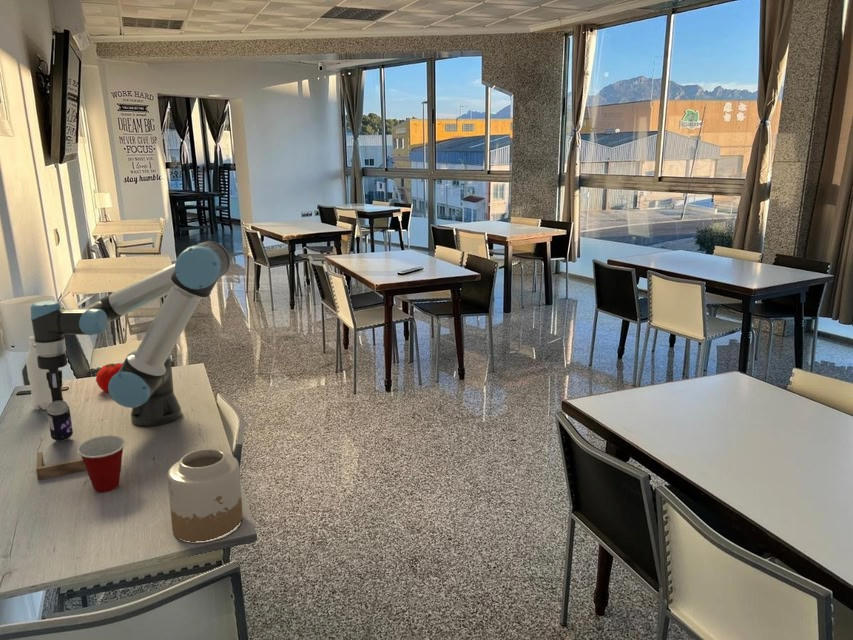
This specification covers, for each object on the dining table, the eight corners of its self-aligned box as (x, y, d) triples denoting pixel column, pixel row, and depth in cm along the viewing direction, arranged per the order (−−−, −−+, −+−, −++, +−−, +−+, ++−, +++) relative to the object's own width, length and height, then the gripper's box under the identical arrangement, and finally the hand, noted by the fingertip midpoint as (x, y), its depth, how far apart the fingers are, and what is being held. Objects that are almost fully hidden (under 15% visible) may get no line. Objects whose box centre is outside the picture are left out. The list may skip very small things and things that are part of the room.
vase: (165, 519, 142) (159, 453, 138) (230, 500, 150) (226, 437, 146) (182, 552, 130) (175, 481, 126) (252, 529, 138) (248, 462, 134)
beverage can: (64, 445, 180) (59, 414, 174) (46, 439, 180) (41, 408, 174) (77, 432, 185) (73, 402, 179) (60, 427, 185) (55, 397, 179)
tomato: (140, 386, 228) (137, 360, 226) (110, 397, 217) (107, 370, 214) (119, 382, 232) (116, 356, 230) (89, 392, 221) (85, 365, 219)
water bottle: (61, 406, 208) (51, 336, 202) (39, 413, 202) (28, 340, 196) (50, 402, 212) (40, 332, 206) (28, 408, 206) (17, 337, 200)
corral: (89, 452, 174) (88, 443, 174) (91, 468, 165) (90, 458, 164) (38, 462, 168) (37, 452, 167) (37, 479, 159) (36, 469, 158)
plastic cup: (82, 502, 149) (76, 457, 146) (83, 482, 158) (77, 440, 155) (131, 492, 154) (126, 448, 151) (129, 473, 163) (124, 432, 160)
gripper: (37, 349, 183) (47, 422, 188) (35, 361, 172) (46, 438, 178) (66, 346, 186) (75, 417, 192) (66, 357, 176) (75, 433, 181)
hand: (61, 427), depth 185 cm, fingers closed
